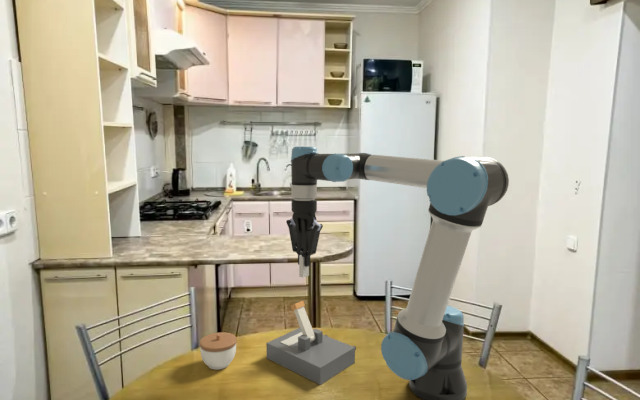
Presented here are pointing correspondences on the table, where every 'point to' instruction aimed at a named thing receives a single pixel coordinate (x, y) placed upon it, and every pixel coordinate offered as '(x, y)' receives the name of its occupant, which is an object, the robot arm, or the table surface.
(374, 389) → the table surface
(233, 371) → the table surface
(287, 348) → the breaker box
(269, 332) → the table surface
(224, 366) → the lidded jar
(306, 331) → the breaker lever
